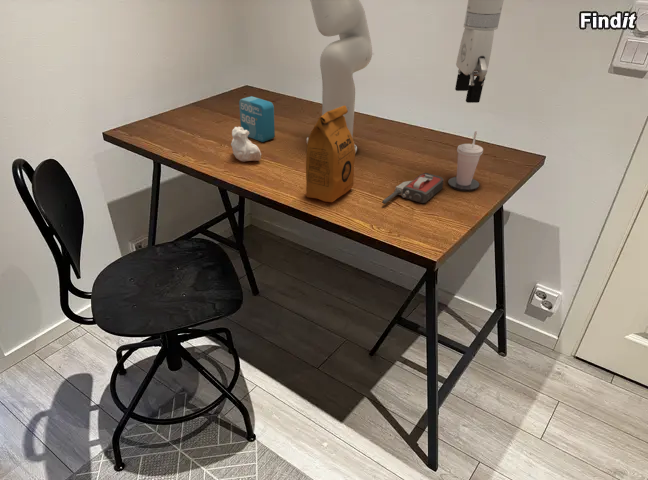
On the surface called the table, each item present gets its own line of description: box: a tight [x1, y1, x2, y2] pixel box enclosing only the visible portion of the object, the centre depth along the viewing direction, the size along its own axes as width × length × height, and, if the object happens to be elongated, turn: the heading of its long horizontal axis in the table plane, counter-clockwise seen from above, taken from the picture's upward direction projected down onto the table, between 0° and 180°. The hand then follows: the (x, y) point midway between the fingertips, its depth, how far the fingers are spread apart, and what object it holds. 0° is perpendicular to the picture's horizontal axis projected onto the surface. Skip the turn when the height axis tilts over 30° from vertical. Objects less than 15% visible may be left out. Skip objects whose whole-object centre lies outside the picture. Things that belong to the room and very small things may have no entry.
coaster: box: [447, 176, 480, 192], centre depth 138 cm, size 8×8×1 cm
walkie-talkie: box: [381, 172, 445, 205], centre depth 132 cm, size 9×4×20 cm
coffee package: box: [305, 106, 356, 203], centre depth 129 cm, size 10×12×22 cm
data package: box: [238, 95, 276, 143], centre depth 167 cm, size 12×4×12 cm, turn 44°
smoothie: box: [456, 130, 484, 186], centre depth 134 cm, size 6×6×14 cm
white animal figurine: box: [230, 126, 262, 163], centre depth 152 cm, size 12×8×11 cm
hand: (466, 96), depth 128 cm, fingers open, 9 cm apart
